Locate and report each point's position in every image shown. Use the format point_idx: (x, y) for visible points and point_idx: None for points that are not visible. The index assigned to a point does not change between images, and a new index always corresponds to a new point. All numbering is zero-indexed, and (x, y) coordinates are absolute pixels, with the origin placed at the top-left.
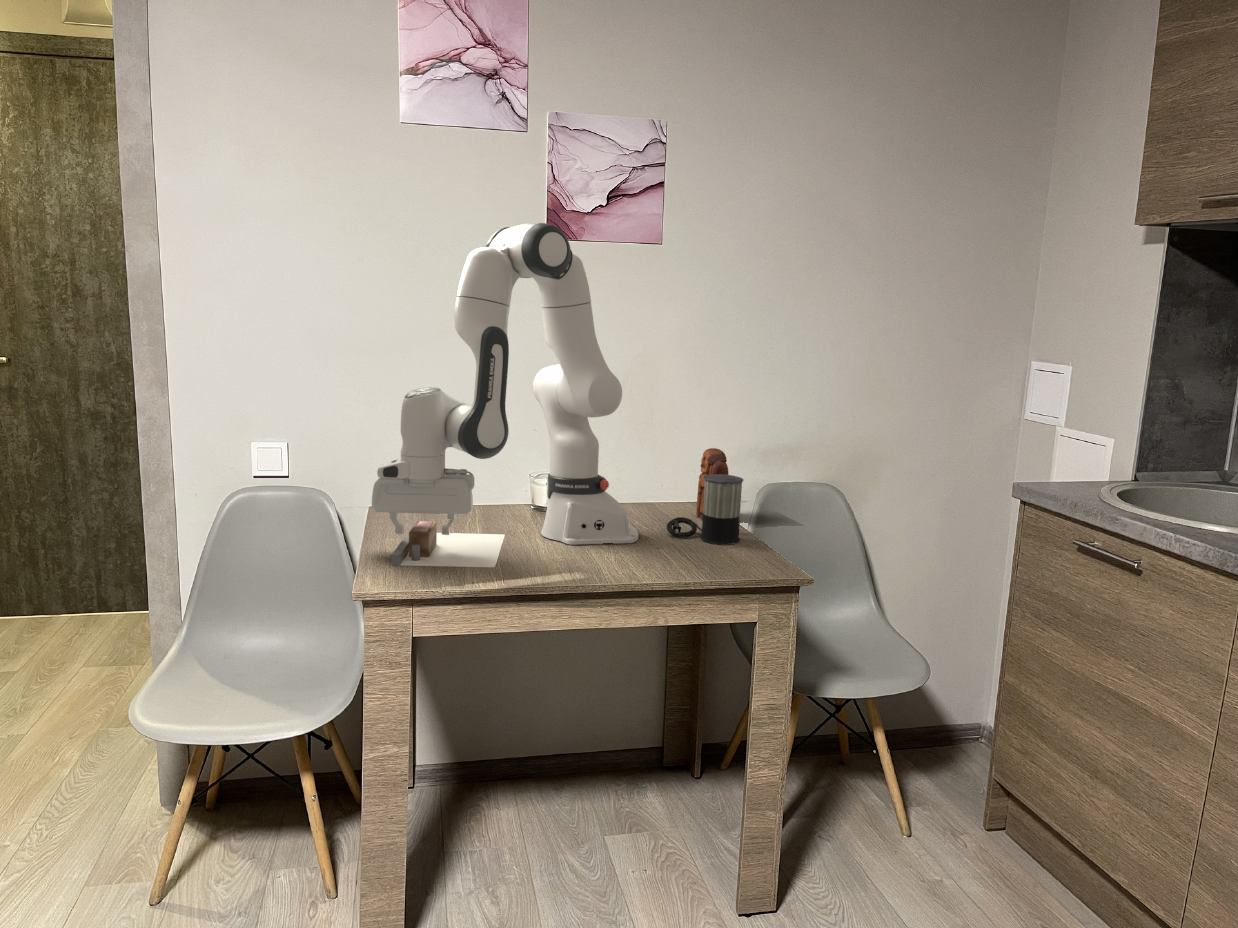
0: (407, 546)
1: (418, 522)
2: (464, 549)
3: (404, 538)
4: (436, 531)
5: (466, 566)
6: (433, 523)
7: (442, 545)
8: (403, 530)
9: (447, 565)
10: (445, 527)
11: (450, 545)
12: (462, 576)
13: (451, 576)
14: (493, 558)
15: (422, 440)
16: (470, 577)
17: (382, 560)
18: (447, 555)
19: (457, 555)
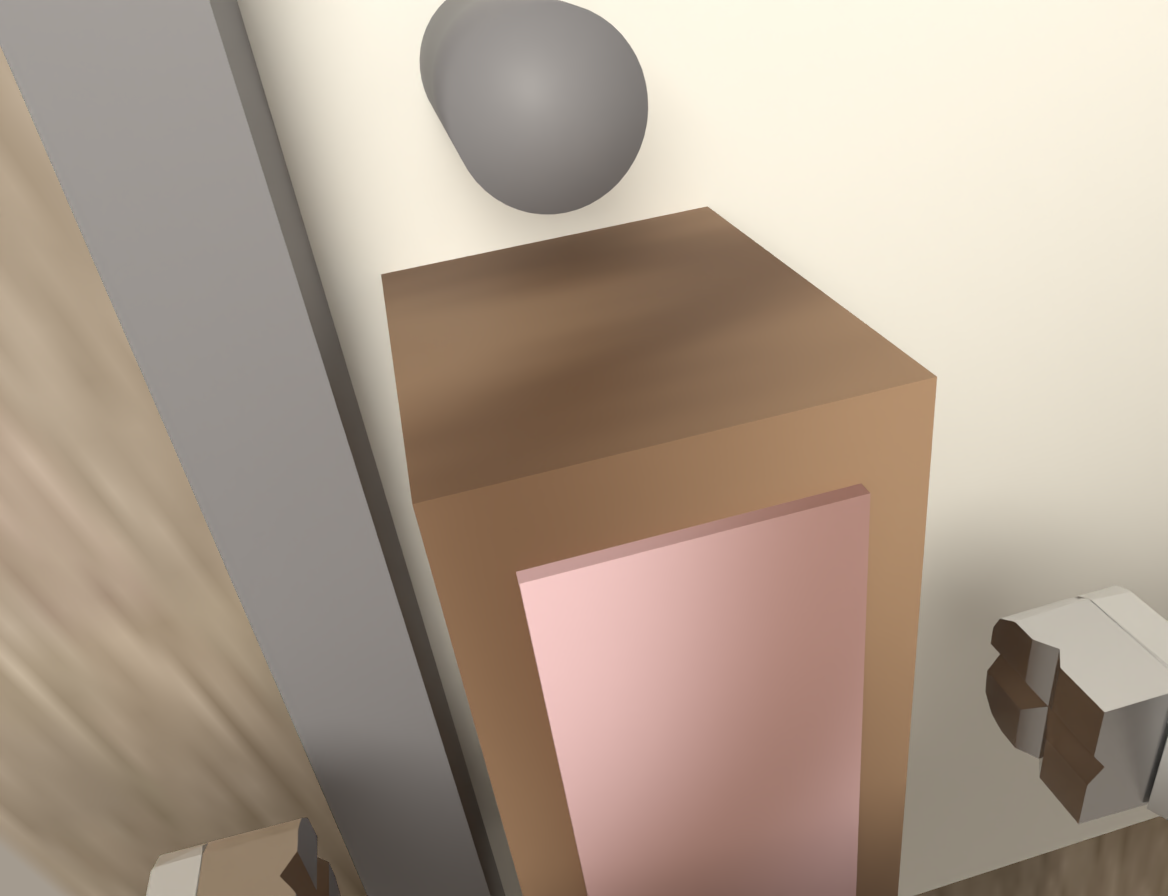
0: (471, 822)
1: (508, 630)
2: (1118, 348)
3: (277, 646)
4: (810, 290)
5: (1098, 833)
6: (882, 575)
7: (812, 241)
8: (318, 885)
9: (948, 874)
10: (1133, 803)
11: (932, 207)
12: (1030, 864)
13: (954, 892)
14: None
15: None
16: (1084, 858)
17: (187, 811)
18: (925, 638)
19: (1030, 606)
